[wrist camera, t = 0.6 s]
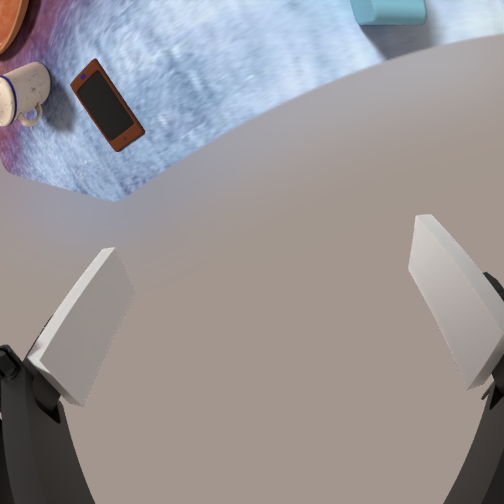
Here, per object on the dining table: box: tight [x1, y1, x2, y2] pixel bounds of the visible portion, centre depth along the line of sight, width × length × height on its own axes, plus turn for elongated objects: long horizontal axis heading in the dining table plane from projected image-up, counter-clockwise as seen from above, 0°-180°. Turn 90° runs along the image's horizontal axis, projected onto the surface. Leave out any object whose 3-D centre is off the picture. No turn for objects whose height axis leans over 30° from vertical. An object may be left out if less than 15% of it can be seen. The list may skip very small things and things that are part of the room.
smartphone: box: [70, 58, 145, 152], centre depth 35 cm, size 7×1×15 cm
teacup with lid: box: [0, 62, 50, 127], centre depth 29 cm, size 12×9×12 cm
